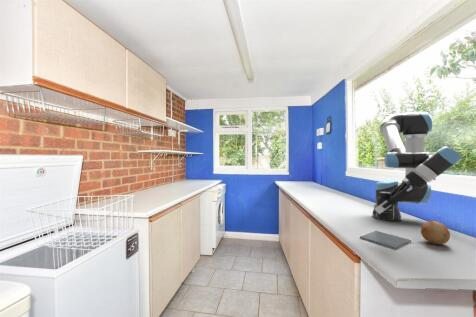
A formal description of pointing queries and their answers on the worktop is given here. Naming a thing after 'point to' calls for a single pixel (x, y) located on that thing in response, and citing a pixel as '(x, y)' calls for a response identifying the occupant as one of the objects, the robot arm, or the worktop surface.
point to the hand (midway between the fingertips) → (376, 209)
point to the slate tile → (385, 239)
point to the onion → (435, 232)
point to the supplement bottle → (389, 212)
